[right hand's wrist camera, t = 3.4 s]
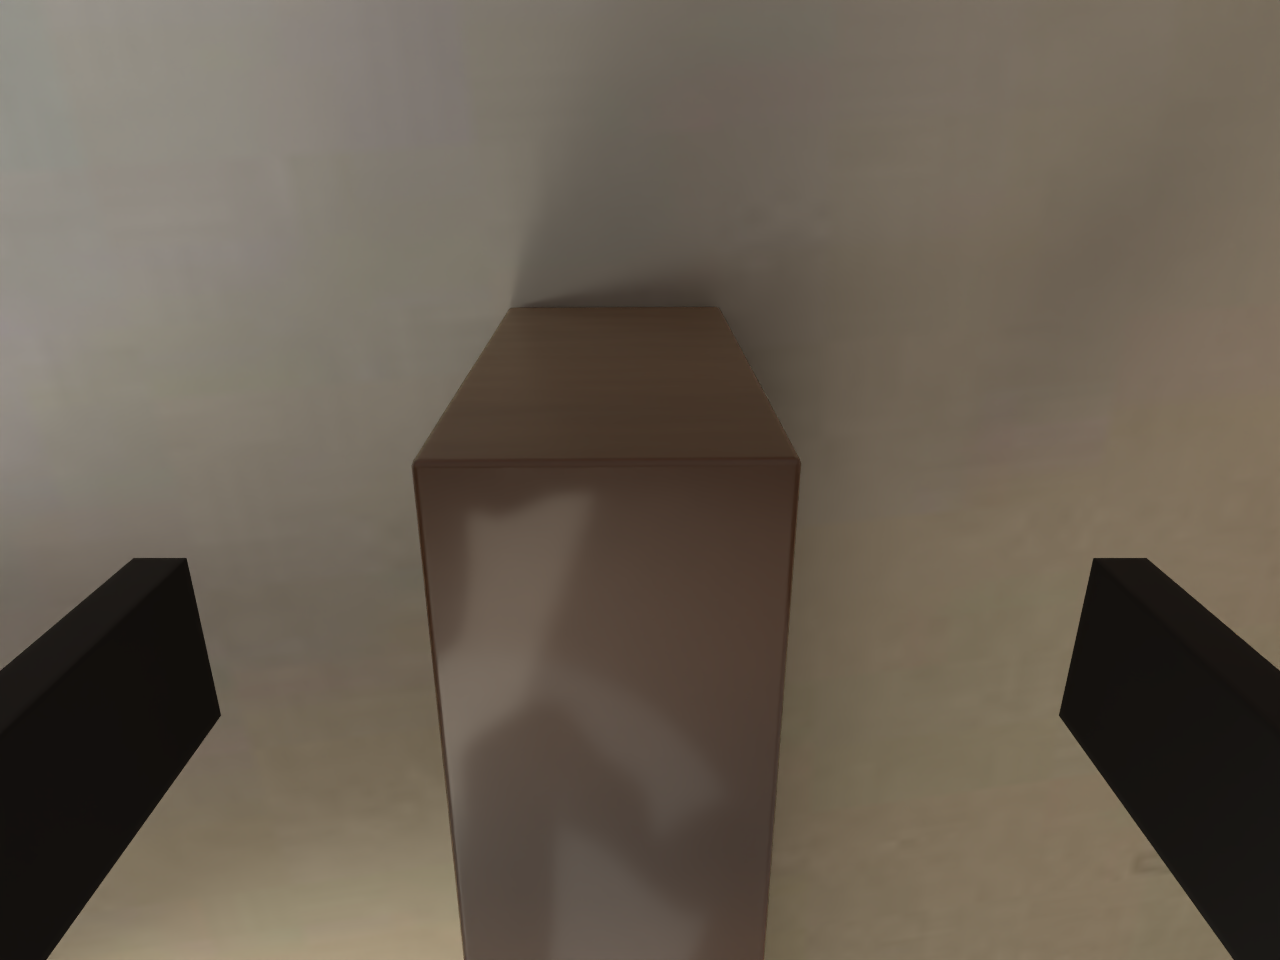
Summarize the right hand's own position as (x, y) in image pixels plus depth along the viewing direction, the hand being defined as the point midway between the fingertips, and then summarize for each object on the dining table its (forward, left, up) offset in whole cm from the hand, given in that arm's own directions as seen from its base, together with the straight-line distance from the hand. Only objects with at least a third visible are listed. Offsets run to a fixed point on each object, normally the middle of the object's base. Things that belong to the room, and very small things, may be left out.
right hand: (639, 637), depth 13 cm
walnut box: (-8, -4, -7) cm, 12 cm away
